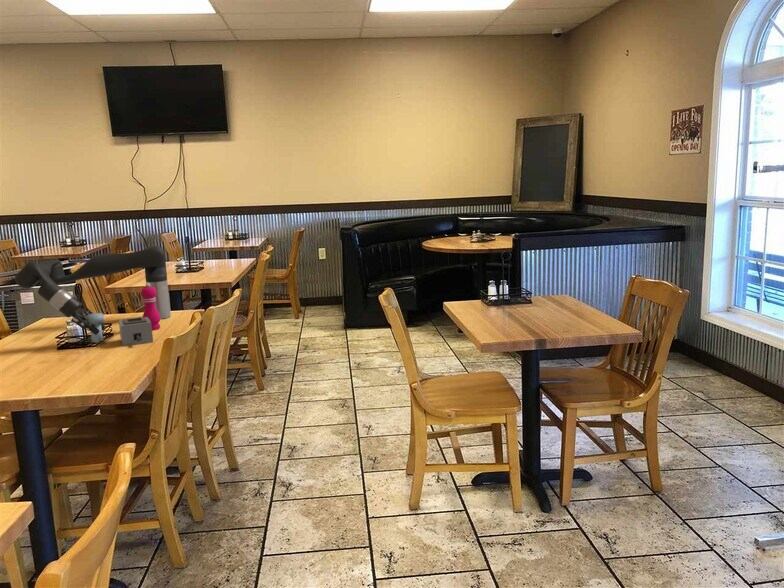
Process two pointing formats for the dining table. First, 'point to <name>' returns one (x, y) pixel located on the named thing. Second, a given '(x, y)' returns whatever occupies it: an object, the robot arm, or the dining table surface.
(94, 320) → the peg
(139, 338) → the plunger
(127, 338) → the grey block
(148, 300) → the pepper mill
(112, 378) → the dining table surface
